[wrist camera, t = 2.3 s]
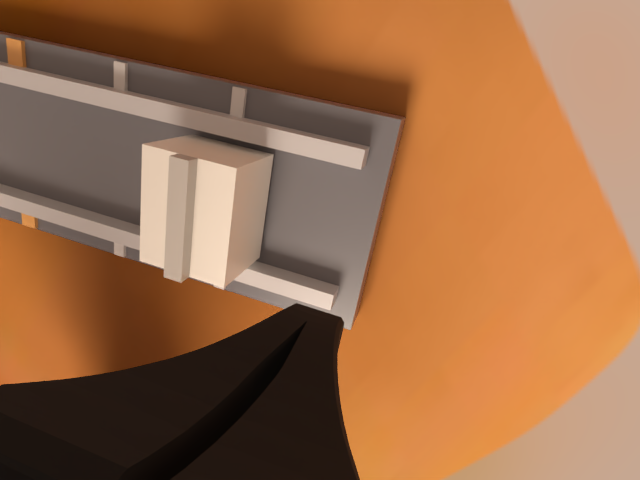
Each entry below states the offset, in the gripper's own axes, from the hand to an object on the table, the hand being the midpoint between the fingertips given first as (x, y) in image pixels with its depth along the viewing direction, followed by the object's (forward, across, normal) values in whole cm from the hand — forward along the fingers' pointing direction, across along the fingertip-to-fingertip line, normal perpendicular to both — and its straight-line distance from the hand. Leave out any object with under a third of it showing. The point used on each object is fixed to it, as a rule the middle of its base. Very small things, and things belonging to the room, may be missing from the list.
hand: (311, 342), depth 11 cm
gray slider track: (+10, +13, 0) cm, 17 cm away
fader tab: (+9, +7, 0) cm, 11 cm away
